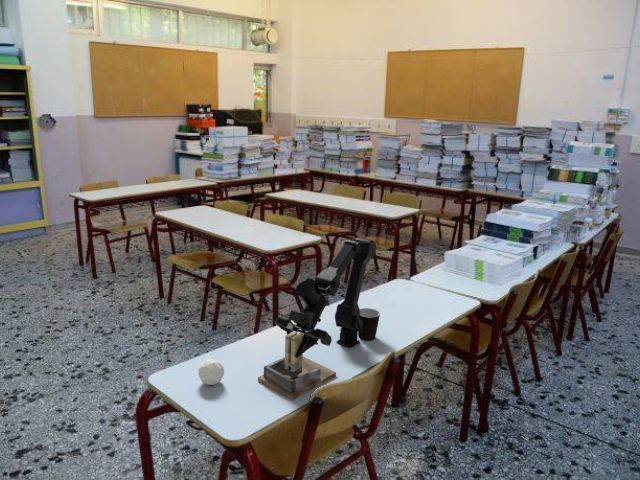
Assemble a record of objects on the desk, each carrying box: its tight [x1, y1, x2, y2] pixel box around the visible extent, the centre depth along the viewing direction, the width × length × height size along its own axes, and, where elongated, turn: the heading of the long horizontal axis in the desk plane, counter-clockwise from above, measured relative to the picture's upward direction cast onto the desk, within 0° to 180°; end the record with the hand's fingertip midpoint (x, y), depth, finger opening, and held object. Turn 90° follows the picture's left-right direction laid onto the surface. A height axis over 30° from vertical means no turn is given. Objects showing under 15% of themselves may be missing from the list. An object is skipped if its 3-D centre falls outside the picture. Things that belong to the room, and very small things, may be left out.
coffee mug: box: [357, 307, 381, 342], centre depth 193 cm, size 12×9×10 cm
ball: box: [197, 358, 225, 386], centre depth 157 cm, size 8×8×8 cm
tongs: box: [284, 331, 304, 378], centre depth 158 cm, size 5×4×13 cm
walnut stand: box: [257, 355, 337, 401], centre depth 162 cm, size 20×15×5 cm
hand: (291, 355), depth 157 cm, fingers closed on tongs, 3 cm apart
